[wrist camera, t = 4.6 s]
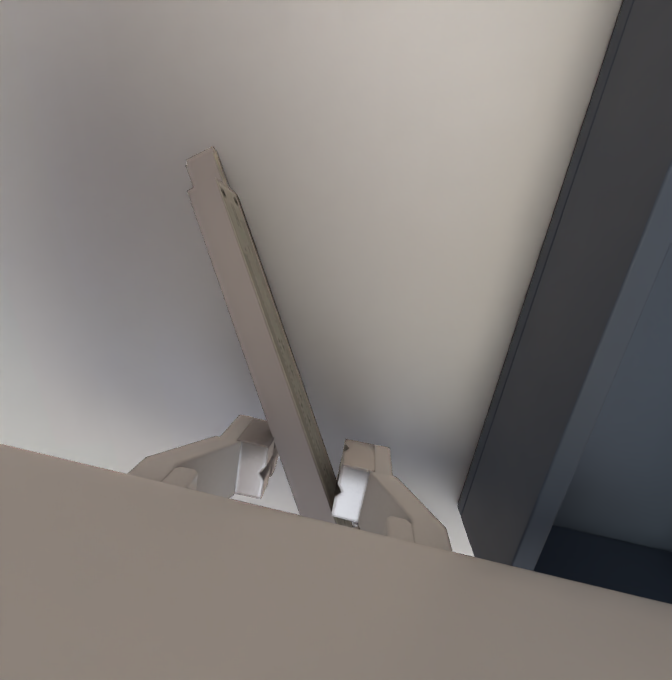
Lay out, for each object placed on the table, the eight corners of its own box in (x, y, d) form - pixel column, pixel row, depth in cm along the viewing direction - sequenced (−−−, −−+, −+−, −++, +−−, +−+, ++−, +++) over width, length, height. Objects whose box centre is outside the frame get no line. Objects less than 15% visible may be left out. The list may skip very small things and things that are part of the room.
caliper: (416, 623, 15) (444, 878, 9) (391, 627, 15) (402, 879, 9) (219, 149, 11) (29, 18, 5) (190, 163, 11) (-25, 54, 5)
